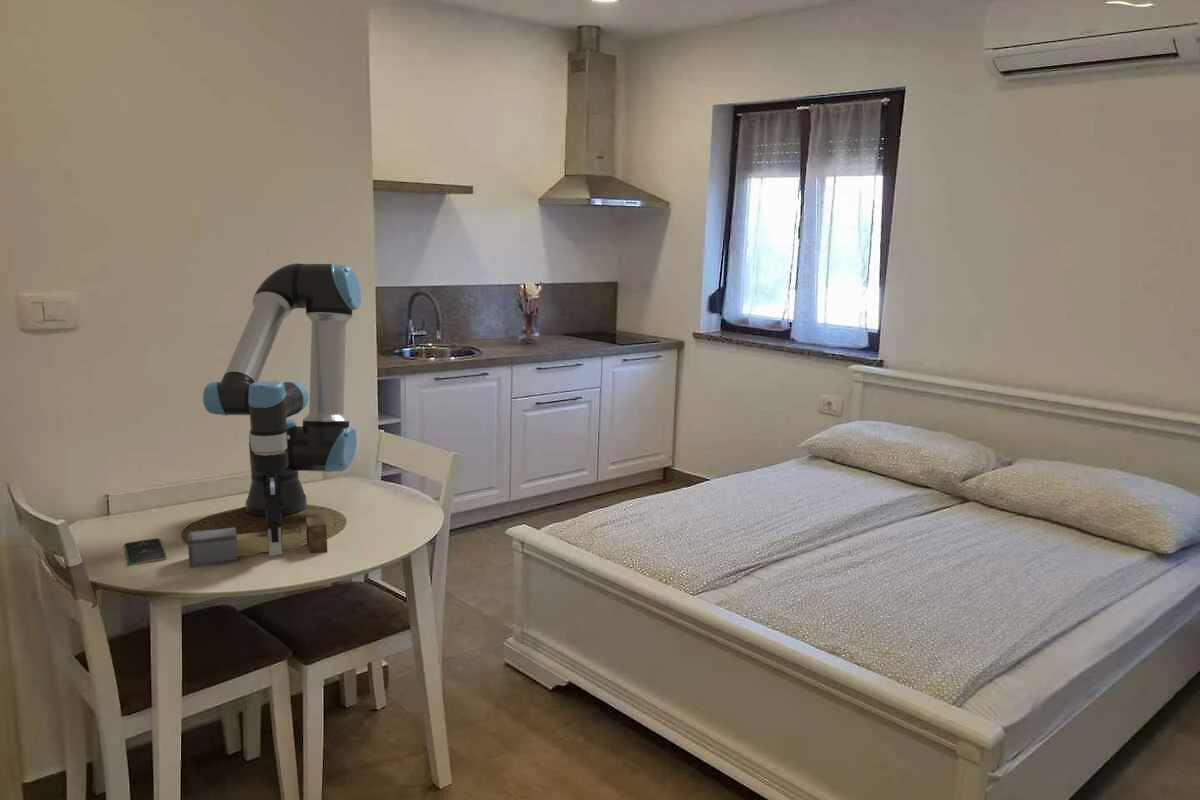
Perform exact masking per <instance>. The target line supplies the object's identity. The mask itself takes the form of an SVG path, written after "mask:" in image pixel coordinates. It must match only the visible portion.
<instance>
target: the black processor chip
mask: <svg viewBox="0 0 1200 800" xmlns="http://www.w3.org/2000/svg"><path fill="white" fill-rule="evenodd" d="M123 549H124V551H125V556H126V560H127V564H128V565H129V566H137V565H143V564H149V563H154V562H160V561H161V562H162V561H167V558H168V557H167V554H166V552H165V547H163V543H162V541H161V539H160V538H157V537H156V538H150V539H143V540H138V541H131V542H126V543H125V544H124V545H123Z"/></svg>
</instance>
